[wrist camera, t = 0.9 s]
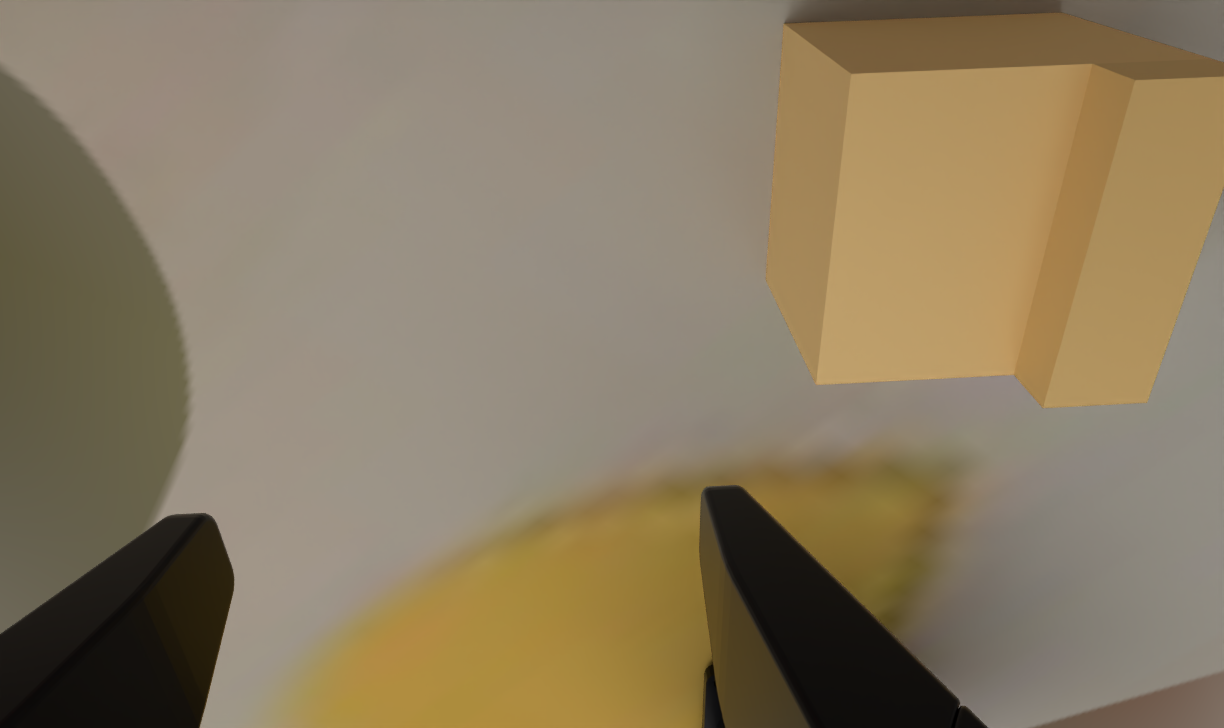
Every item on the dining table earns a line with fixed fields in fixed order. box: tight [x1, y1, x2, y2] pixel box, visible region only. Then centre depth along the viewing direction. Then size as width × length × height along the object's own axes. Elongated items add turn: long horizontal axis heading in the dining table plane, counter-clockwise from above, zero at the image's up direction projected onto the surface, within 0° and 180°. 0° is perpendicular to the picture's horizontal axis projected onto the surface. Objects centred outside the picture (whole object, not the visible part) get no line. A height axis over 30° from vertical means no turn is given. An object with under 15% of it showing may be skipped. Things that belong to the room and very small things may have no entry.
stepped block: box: [766, 12, 1224, 408], centre depth 17 cm, size 6×6×6 cm
